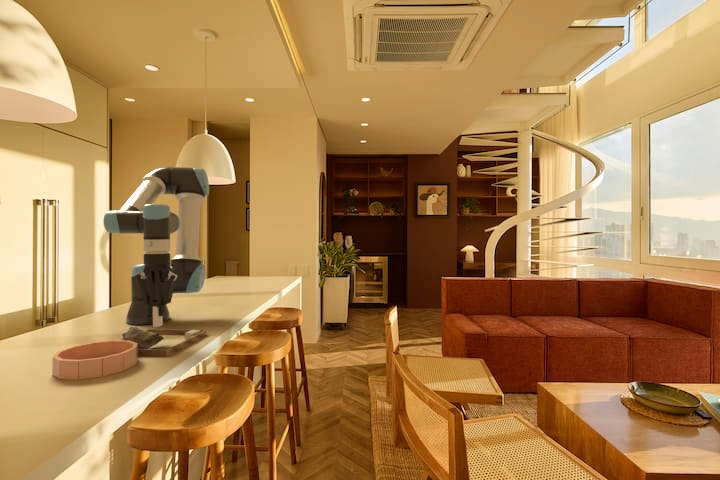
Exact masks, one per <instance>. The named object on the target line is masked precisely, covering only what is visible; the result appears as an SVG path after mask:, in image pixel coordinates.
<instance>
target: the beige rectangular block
mask: <svg viewBox="0 0 720 480" xmlns="http://www.w3.org/2000/svg"><path fill="white" fill-rule="evenodd" d="M190 330H191V331H188V332H186V333H185V335H184V339H185V340H187V339H189V338H191V337H193V336H195V335H197V334H198V333H200V330H201V329H190Z"/></svg>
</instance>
